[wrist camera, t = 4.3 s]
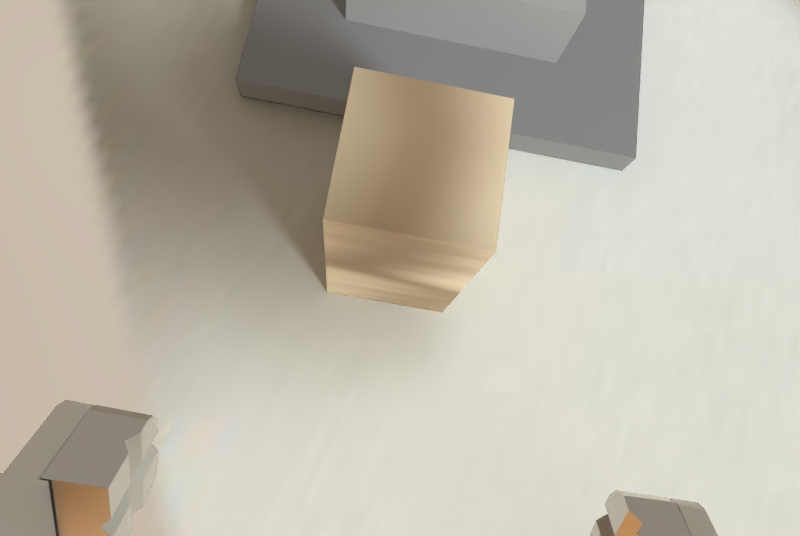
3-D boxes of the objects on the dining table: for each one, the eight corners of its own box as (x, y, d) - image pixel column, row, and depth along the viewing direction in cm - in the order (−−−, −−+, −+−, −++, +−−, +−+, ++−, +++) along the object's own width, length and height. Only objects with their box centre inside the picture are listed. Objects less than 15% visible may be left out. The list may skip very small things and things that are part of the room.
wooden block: (457, 205, 24) (514, 98, 16) (441, 312, 23) (495, 251, 15) (348, 185, 24) (354, 66, 16) (327, 291, 22) (322, 218, 15)
